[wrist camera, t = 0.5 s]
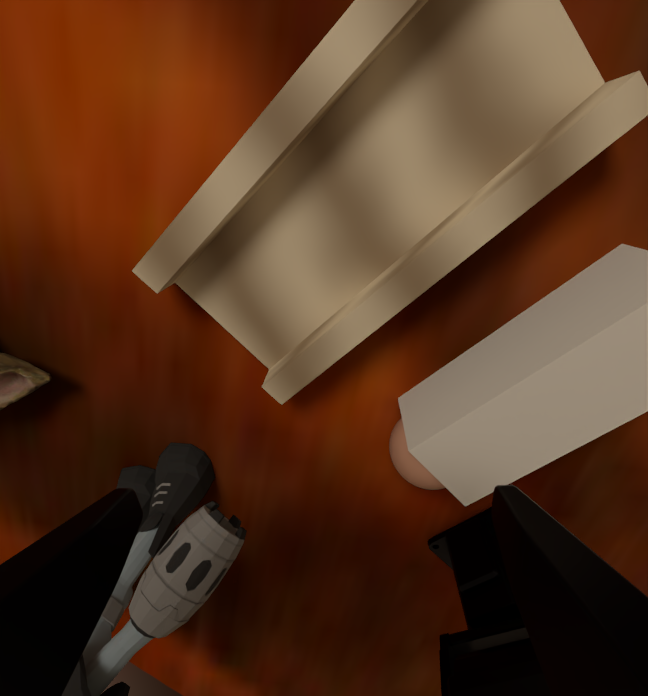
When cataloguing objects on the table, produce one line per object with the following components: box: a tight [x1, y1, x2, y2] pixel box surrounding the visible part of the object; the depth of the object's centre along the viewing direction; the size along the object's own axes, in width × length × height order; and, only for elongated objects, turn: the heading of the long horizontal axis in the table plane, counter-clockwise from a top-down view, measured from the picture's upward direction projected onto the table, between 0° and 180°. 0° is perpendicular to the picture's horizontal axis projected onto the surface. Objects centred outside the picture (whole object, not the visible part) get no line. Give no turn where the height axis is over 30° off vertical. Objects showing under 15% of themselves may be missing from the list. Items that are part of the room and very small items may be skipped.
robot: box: [62, 443, 246, 696], centre depth 18 cm, size 20×5×20 cm, turn 123°
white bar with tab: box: [389, 244, 648, 507], centre depth 19 cm, size 17×5×6 cm, turn 133°
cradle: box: [132, 0, 648, 405], centre depth 17 cm, size 20×10×3 cm, turn 133°
